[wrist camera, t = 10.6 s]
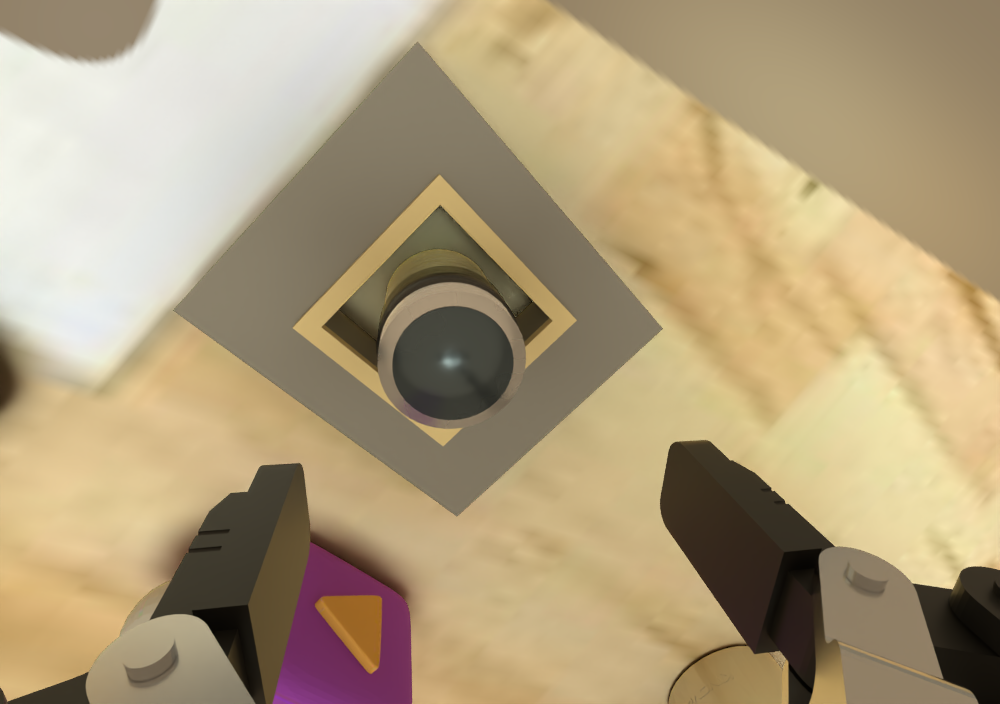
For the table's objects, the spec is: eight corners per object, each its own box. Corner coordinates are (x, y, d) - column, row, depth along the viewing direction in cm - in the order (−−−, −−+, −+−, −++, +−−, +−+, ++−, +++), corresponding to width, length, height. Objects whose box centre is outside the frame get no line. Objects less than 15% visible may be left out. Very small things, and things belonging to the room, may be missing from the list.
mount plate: (636, 310, 27) (667, 332, 24) (451, 482, 29) (458, 522, 26) (415, 55, 21) (417, 38, 18) (199, 291, 23) (167, 313, 20)
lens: (515, 300, 26) (560, 362, 18) (440, 372, 27) (454, 460, 19) (438, 222, 24) (454, 256, 16) (359, 302, 25) (339, 370, 17)
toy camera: (207, 481, 27) (105, 655, 18) (432, 569, 31) (444, 742, 22) (122, 625, 29) (-8, 845, 20) (343, 687, 34) (322, 888, 24)
